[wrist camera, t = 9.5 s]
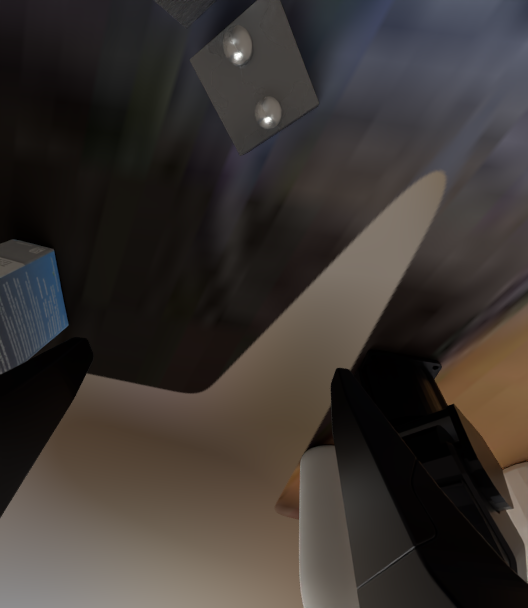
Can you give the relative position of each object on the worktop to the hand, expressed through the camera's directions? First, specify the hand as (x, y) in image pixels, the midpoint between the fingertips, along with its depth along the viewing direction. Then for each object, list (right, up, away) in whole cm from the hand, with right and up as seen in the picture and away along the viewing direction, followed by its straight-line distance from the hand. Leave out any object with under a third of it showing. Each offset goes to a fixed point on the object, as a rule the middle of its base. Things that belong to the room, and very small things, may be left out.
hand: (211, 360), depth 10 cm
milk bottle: (+10, -18, +26) cm, 33 cm away
